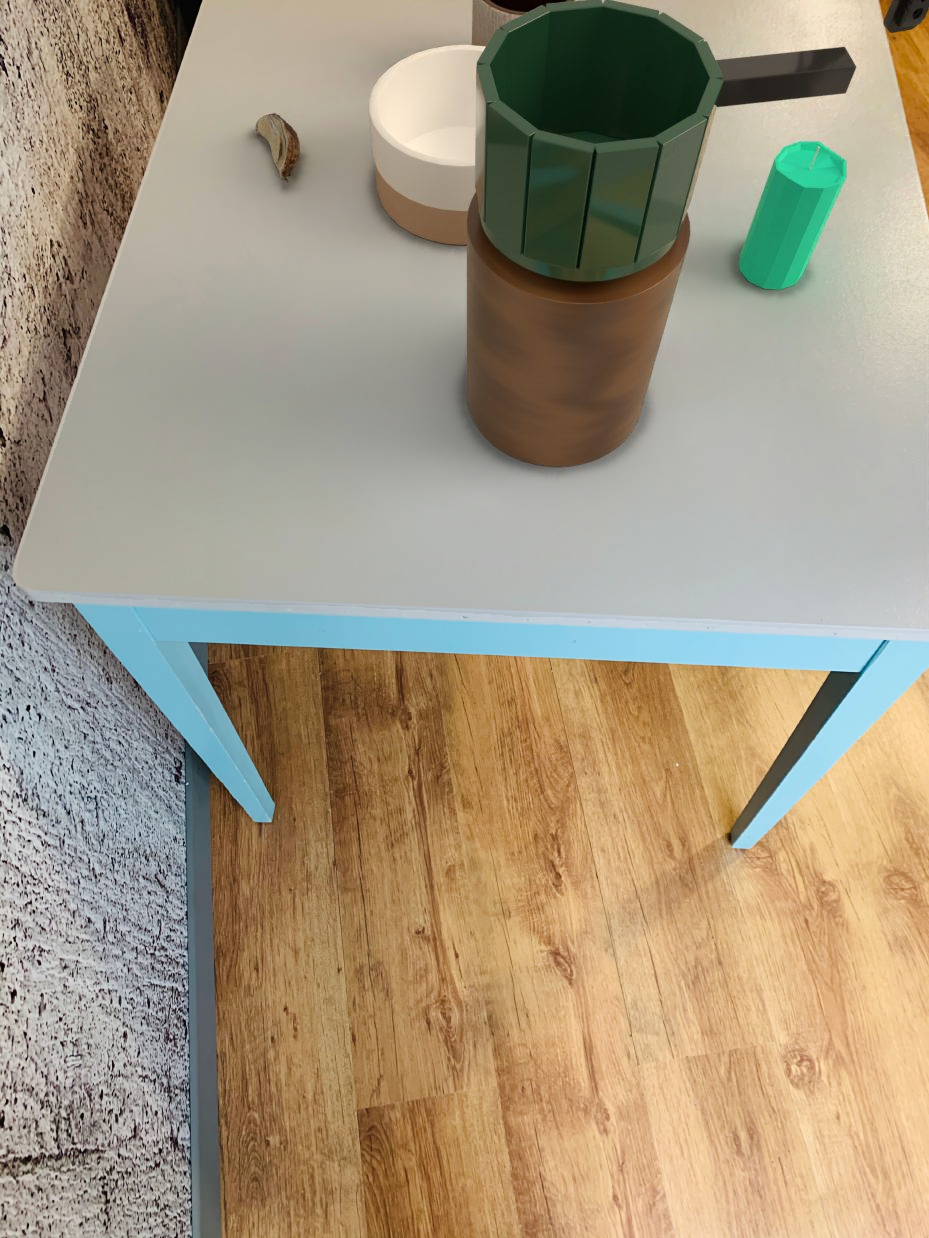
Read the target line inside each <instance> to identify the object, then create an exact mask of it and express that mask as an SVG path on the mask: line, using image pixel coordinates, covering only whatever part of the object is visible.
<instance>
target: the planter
mask: <svg viewBox="0 0 929 1238" xmlns="http://www.w3.org/2000/svg"><path fill="white" fill-rule="evenodd" d="M571 1H581V0H472V8H471V9H472V13H471V15H472V17H471V45H474V46H485V47H486V46H487V44H488V42H489V41H490V39H491V37H492V36H493V34H494V32H495V31H496V29H499V28H500V26H502V25H504V24H506V23H508V22H510V21H512V20H514V19H516V18H518V17H520V16H522V15H524V14H526V13H528V12H529V11H531V10H533V9H535V8H537V7H539V6H541V5H543V6H544V7H546V4H551V3H561V2H571Z"/></svg>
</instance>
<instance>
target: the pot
mask: <svg viewBox="0 0 929 1238" xmlns="http://www.w3.org/2000/svg"><path fill="white" fill-rule="evenodd" d="M714 55H715V54H714V53H713V51H712V49H711V47H710V44H709V43H708V41H707V40H705V38H704V37H702V36H701V35H700V34H698V33H697V32H695V31H693V29H690V28H689V27H687V26H686V25H684V24H683V23H682V22H680V21H678V20H676V19H675V18H674V17H672V16H670V15H669V14H667V13H666V12H663V11H662V12H660V10H659V9H655V8H649V7H645V6H640V5H635V4H631V3H627V2H622V1H617V0H604V1H603V0H581V1H571V2H561V3H551V4H546V7H544V6H543V5H541V6H539V7H537V8H535V9H533V10H531V11H529V12H528V13H526V14H524V15H522V16H520V17H518V18H516V19H514V20H512V21H510V22H508V23H506V24H504V25H502V26H500V28H499V29H496V31H495V32H494V34H493V36H492V37H491V39H490V41H489V42H488V44H487V46H486V47H485V49H484V51H483V52H482V54H481V56H480V57H479V59H478V61H477V66H476V136H475V189H476V193H477V198H478V206H477V208H478V215H479V219H480V222H481V225H482V228H483V230H484V232H485V233H486V235H487V237H488V238H489V240H490V241H491V242H492V243H493V245H494V246H495V247H496V248H497V249H498V250H499V251H500V252H501V253H502V254H504V255H505V256H506V257H508V258H509V259H510V260H512V261H513V262H515V263H517V264H518V265H520V266H522V267H524V268H526V269H528V270H531V271H533V272H535V273H538V274H541V275H544V276H547V277H552V278H556V279H561V280H568V281H580V282H593V281H605V280H611V279H617V278H621V277H624V276H628V275H631V274H633V273H636V272H638V271H641V270H643V269H645V268H647V267H648V266H650V265H652V264H654V263H655V262H656V261H658V260H659V259H660V258H662V257H663V256H664V255H665V254H666V253H667V252H668V251H669V250H670V249H671V247H672V246H673V245H674V243H675V242H676V240H677V238H678V236H679V234H680V232H681V229H682V226H683V222H684V218H685V216H686V213H688V210H689V208H690V205H691V203H692V199H693V195H694V192H695V188H696V184H697V180H698V177H699V173H700V169H701V166H702V162H703V159H704V155H705V152H706V149H707V144H708V141H709V136H710V134H711V130H712V126H713V122H714V119H715V115H716V112H717V108H722V107H735V106H743V105H752V104H761V103H762V104H763V103H771V102H780V101H789V100H790V101H791V100H798V99H808V98H817V97H825V96H836V95H843V94H844V95H845V94H846V93H847V92H848V89H849V87H850V84H851V82H852V80H853V76H854V74H855V72H856V69H857V65H856V64H855V61H854V60H853V58H852V56H851V55H850V53H849V51H848V50H847V48H846V46H838V47H837V46H836V47H828V48H827V47H826V48H819V49H808V50H799V51H789V52H779V53H770V54H761V55H751V56H742V57H732V58H723V59H716V58H715V56H714Z"/></svg>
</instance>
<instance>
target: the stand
mask: <svg viewBox="0 0 929 1238" xmlns="http://www.w3.org/2000/svg"><path fill="white" fill-rule="evenodd" d="M477 206H478V198H477V193H476V192H475V194H474V196H473V198H472V200H471V202H470V206H469V209H468V215H467V245H466V403H467V407H468V412H469V414H470V416H471V419H472V421H473V423H474V425H475V427H476V428H477V429H478V431H479V432H480V434H482V435H483V437H484V438H485V439H486V440H487V441H488V443H489V442H490V444H491V445H492V446H494V447H496V448H497V449H498V450H500V451H501V452H503V453H505V454H506V455H509V456H510V457H512V458H515V459H517V460H519V461H521V462H525V463H529V464H532V465H538V466H542V467H543V466H544V467H556V468H558V467H559V468H560V467H573V466H579V465H583V464H587V463H590V462H593V461H596V460H599V459H600V458H603V457H605V456H607V455H608V454H610V453H612V452H614V451H615V450H616V449H617V448H618V447H620V446H621V445H622V444H623V443H625V441H626V440H627V439H628V438H629V437H630V435H631V434H632V433H633V431H634V430H635V428H636V426H637V424H638V423H639V419H640V416H641V413H642V409H643V406H644V402H645V398H646V397H647V396H646V395H647V392H648V388H649V384H650V381H651V378H652V375H653V370H654V367H655V364H656V360H657V356H658V354H659V349H660V346H661V342H662V339H663V336H664V333H665V332H664V331H665V329H666V325H667V321H668V318H669V315H670V311H671V307H672V304H673V300H674V298H675V294H676V290H677V287H678V283H679V280H680V277H681V273H682V270H683V265H684V263H685V259H686V255H687V251H688V248H689V245H690V240H691V239H690V238H691V223H690V221H691V220H690V217H689V213H688V212H687V213H686V216H685V218H684V222H683V226H682V229H681V232H680V234H679V236H678V238H677V240H676V242H675V243H674V245H673V246H672V247H671V249H670V250H669V251H668V252H667V253H666V254H665V255H664V256H663V257H662V258H660V259H659V260H658V261H656V262H655V263H654V264H652V265H650V266H648V267H647V268H645V269H643V270H641V271H638V272H636V273H633V274H631V275H628V276H624V277H621V278H617V279H611V280H605V281H593V282H580V281H568V280H561V279H556V278H552V277H547V276H544V275H541V274H538V273H535V272H533V271H531V270H528V269H526V268H524V267H522V266H520V265H518V264H517V263H515V262H513V261H512V260H510V259H509V258H508V257H506V256H505V255H504V254H502V253H501V252H500V251H499V250H498V249H497V248H496V247H495V246H494V245H493V243H492V242H491V241H490V240H489V238H488V237H487V235H486V233H485V232H484V230H483V228H482V225H481V222H480V219H479V215H478V208H477Z"/></svg>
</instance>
